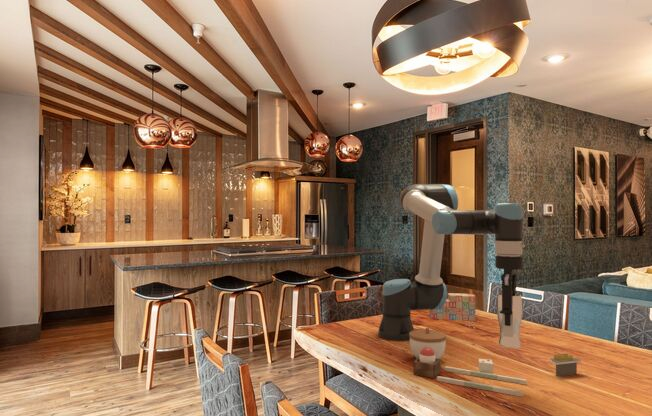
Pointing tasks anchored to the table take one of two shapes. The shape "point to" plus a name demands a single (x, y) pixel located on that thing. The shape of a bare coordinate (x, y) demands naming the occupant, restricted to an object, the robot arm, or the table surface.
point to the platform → (565, 364)
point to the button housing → (427, 368)
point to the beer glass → (517, 316)
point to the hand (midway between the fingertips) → (509, 333)
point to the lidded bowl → (427, 341)
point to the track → (483, 386)
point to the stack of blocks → (456, 308)
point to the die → (486, 366)
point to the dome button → (427, 355)
